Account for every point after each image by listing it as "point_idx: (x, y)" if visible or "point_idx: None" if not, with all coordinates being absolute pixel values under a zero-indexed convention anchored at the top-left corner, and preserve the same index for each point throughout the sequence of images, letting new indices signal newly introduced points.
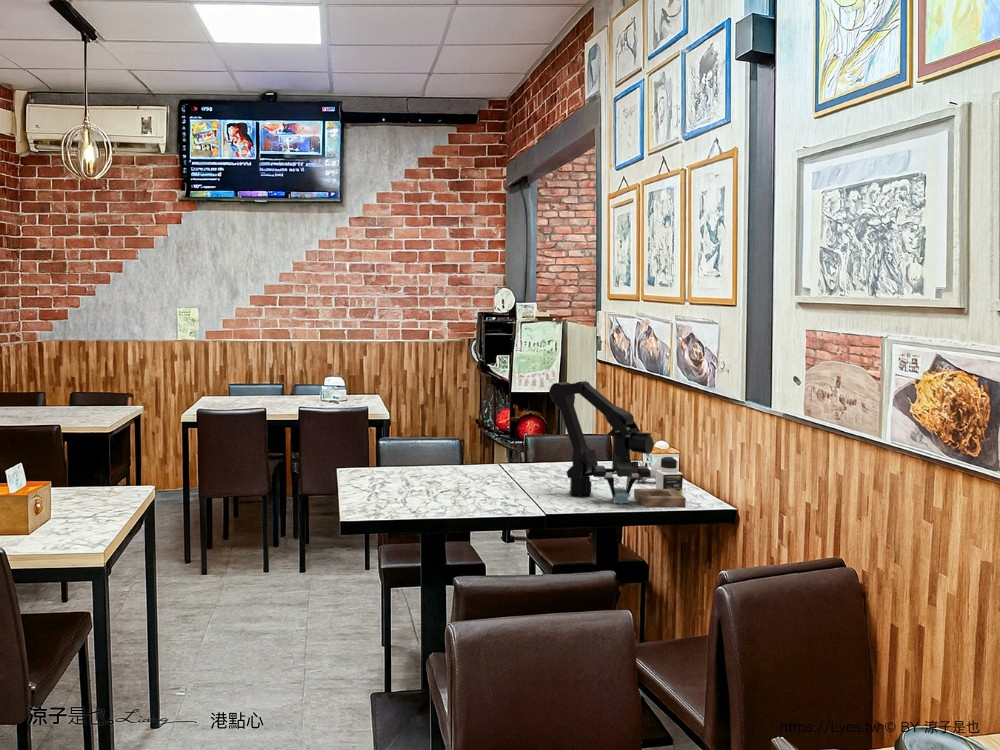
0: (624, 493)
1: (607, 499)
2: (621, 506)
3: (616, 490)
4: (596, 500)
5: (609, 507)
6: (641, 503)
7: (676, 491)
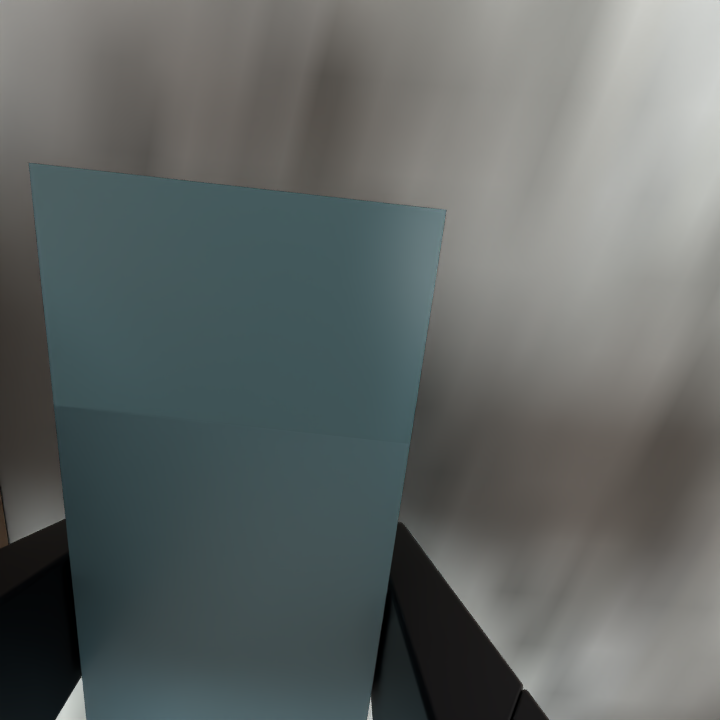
0: (164, 376)
1: None
2: (340, 154)
3: (304, 692)
4: (608, 591)
5: (608, 83)
6: None
7: None
